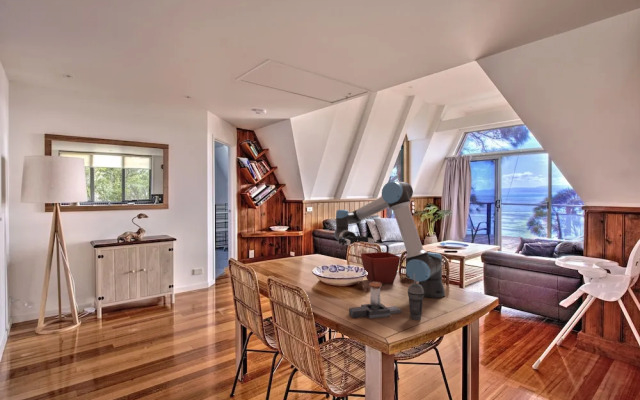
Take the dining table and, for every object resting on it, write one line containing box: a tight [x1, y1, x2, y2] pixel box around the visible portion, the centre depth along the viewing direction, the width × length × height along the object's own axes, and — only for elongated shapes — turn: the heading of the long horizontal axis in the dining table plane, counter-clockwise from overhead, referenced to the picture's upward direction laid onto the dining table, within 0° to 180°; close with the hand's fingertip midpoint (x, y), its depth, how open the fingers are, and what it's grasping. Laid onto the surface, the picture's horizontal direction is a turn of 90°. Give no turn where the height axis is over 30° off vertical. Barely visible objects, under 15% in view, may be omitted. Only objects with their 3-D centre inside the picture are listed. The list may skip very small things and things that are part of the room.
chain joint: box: [348, 302, 402, 319], centre depth 156 cm, size 24×10×3 cm, turn 106°
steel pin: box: [368, 281, 383, 310], centre depth 156 cm, size 6×6×14 cm
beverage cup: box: [407, 273, 425, 321], centre depth 150 cm, size 7×7×20 cm
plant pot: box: [360, 251, 401, 285], centre depth 211 cm, size 19×19×17 cm
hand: (361, 242), depth 176 cm, fingers open, 13 cm apart
